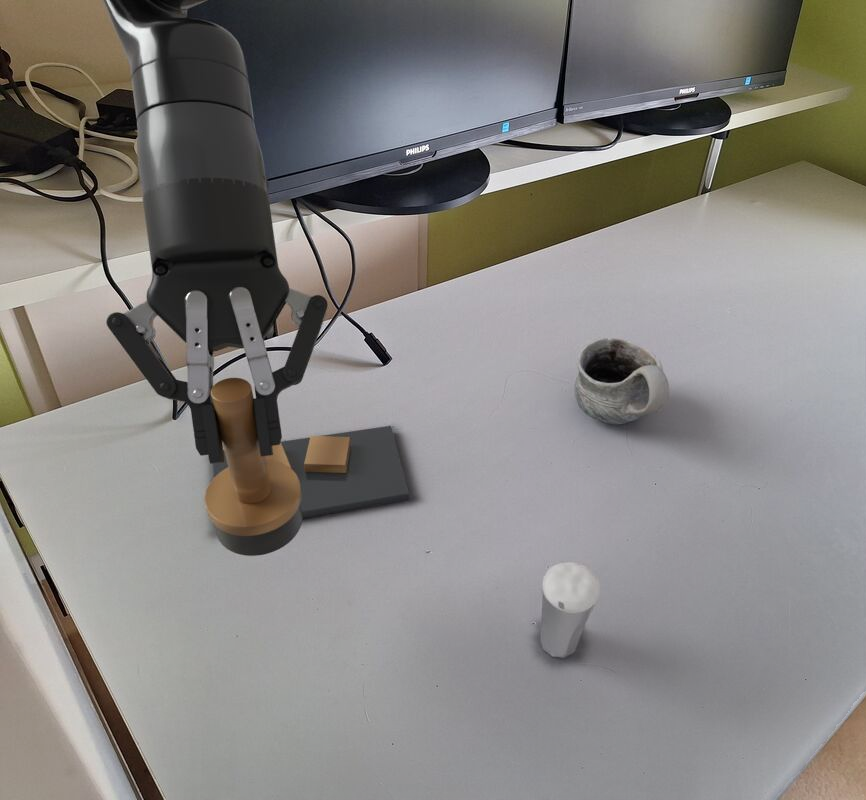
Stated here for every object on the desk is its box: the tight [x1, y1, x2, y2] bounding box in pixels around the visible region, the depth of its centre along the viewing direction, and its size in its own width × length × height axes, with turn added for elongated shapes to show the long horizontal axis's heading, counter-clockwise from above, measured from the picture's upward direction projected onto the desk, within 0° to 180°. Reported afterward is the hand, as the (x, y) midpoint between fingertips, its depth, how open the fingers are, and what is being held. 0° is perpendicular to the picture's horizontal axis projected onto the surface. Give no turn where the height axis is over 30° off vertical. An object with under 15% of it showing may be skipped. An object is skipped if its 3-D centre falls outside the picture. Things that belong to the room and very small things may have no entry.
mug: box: [574, 336, 670, 425], centre depth 85 cm, size 10×12×10 cm
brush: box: [204, 377, 303, 557], centre depth 52 cm, size 6×6×13 cm
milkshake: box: [539, 561, 601, 659], centre depth 62 cm, size 4×5×10 cm
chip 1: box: [265, 443, 291, 468], centre depth 75 cm, size 4×4×1 cm
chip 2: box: [304, 435, 351, 473], centre depth 77 cm, size 4×4×1 cm
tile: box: [212, 425, 410, 519], centre depth 76 cm, size 18×10×1 cm, turn 109°
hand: (242, 457), depth 49 cm, fingers closed on brush, 2 cm apart
